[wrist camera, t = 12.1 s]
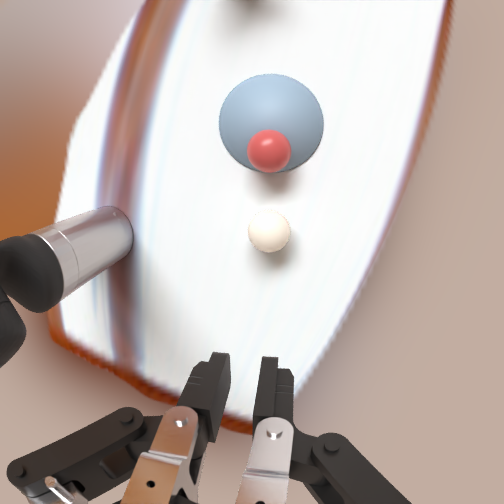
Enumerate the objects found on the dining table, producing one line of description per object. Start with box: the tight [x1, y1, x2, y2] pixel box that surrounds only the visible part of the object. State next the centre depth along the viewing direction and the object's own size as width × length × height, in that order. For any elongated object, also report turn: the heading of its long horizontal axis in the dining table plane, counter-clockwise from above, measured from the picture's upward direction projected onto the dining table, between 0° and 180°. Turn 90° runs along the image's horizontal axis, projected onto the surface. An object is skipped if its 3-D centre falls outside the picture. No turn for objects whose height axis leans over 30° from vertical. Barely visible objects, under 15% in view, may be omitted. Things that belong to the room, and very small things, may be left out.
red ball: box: [247, 129, 291, 173], centre depth 34 cm, size 6×6×6 cm
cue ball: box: [248, 210, 290, 253], centre depth 37 cm, size 6×6×6 cm
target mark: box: [219, 74, 323, 172], centre depth 35 cm, size 14×14×1 cm
